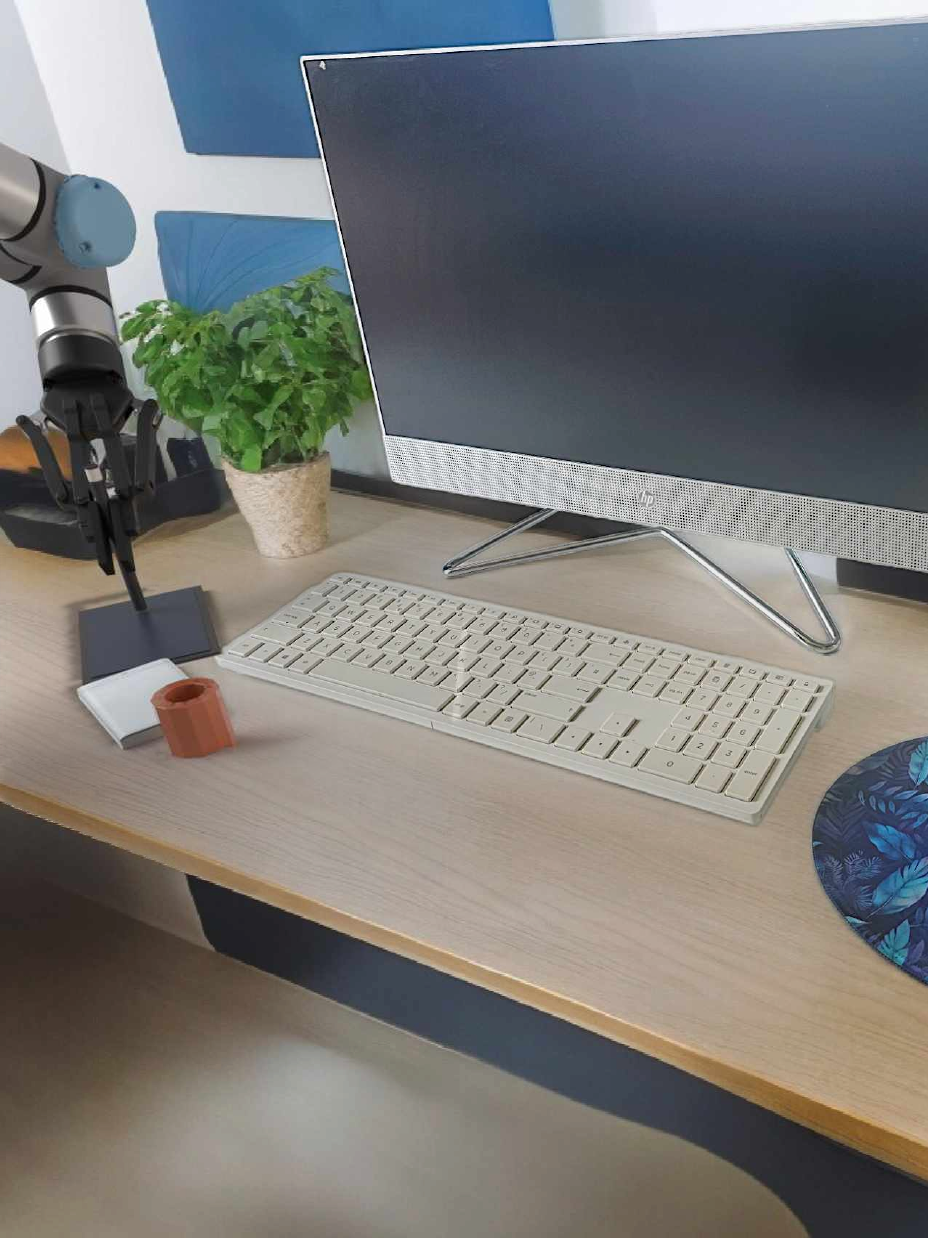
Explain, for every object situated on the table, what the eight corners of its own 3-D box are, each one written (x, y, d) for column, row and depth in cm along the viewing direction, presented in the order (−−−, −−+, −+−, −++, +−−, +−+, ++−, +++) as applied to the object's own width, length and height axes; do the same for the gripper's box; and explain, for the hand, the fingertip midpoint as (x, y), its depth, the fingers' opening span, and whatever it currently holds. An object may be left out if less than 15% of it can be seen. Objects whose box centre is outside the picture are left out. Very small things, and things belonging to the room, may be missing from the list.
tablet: (222, 657, 113) (220, 650, 113) (84, 691, 109) (81, 683, 108) (202, 590, 127) (200, 583, 127) (79, 617, 123) (77, 610, 122)
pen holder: (167, 776, 96) (143, 711, 92) (182, 744, 100) (160, 681, 97) (231, 768, 96) (210, 704, 93) (243, 736, 100) (223, 674, 97)
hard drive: (217, 702, 102) (167, 655, 111) (118, 738, 98) (74, 686, 106) (222, 719, 103) (172, 670, 111) (125, 755, 99) (80, 702, 107)
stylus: (133, 612, 120) (82, 468, 113) (136, 607, 122) (86, 464, 114) (145, 610, 121) (95, 467, 113) (148, 605, 122) (99, 463, 114)
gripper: (165, 364, 125) (204, 570, 120) (16, 382, 121) (50, 595, 116) (145, 322, 118) (186, 539, 113) (-14, 340, 114) (21, 565, 109)
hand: (117, 567), depth 115 cm, fingers closed on stylus
